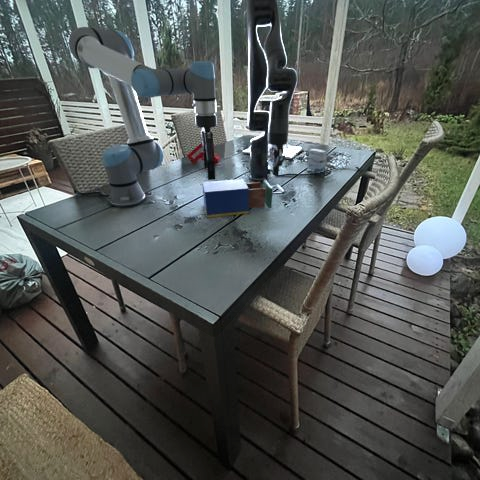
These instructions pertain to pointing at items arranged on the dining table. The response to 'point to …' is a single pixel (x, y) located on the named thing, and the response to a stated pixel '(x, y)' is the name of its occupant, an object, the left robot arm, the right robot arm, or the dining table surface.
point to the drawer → (261, 194)
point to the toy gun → (200, 154)
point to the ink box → (316, 160)
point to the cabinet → (225, 197)
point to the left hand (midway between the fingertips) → (209, 173)
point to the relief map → (287, 150)
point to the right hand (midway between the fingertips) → (275, 174)
